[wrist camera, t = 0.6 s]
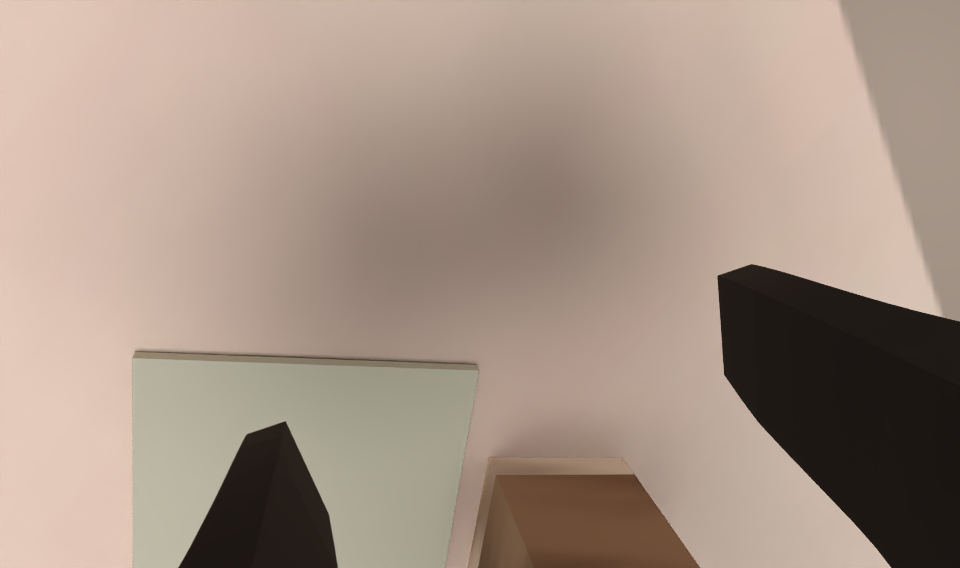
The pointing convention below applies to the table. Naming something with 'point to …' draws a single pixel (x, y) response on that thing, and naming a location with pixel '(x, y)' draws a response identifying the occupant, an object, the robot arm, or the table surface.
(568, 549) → the walnut block
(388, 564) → the sage mat
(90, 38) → the table surface
